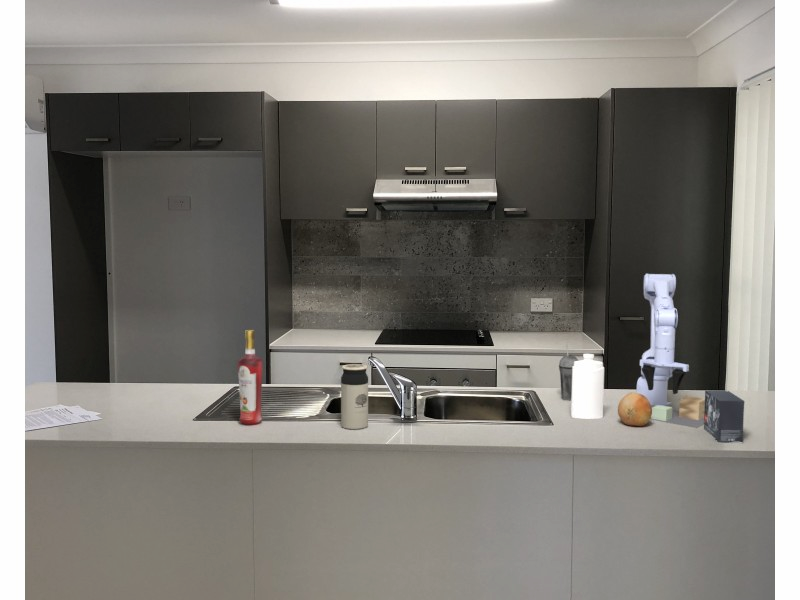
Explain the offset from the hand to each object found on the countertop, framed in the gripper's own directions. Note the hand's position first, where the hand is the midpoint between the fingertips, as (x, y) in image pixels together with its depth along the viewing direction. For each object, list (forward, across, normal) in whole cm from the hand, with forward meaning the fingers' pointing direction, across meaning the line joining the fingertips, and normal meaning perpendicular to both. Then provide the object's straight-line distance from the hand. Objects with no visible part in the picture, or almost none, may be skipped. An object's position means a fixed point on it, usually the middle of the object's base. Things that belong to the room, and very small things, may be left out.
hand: (662, 391), depth 220 cm
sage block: (+8, 0, 0) cm, 9 cm away
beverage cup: (+9, -35, +5) cm, 36 cm away
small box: (+9, +20, -6) cm, 23 cm away
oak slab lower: (+8, +6, +9) cm, 14 cm away
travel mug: (+9, -63, -71) cm, 95 cm away
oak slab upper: (+6, +6, +9) cm, 12 cm away
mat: (+9, +4, +5) cm, 11 cm away
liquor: (+9, -88, -90) cm, 126 cm away
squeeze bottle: (+9, -18, -14) cm, 24 cm away
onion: (+9, -3, -13) cm, 16 cm away
